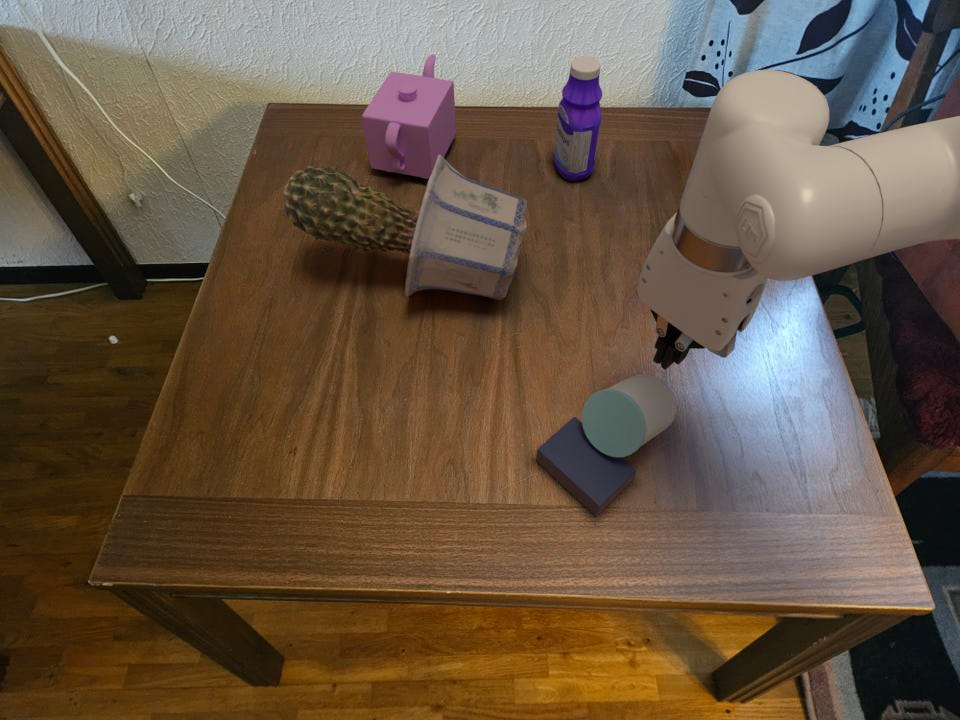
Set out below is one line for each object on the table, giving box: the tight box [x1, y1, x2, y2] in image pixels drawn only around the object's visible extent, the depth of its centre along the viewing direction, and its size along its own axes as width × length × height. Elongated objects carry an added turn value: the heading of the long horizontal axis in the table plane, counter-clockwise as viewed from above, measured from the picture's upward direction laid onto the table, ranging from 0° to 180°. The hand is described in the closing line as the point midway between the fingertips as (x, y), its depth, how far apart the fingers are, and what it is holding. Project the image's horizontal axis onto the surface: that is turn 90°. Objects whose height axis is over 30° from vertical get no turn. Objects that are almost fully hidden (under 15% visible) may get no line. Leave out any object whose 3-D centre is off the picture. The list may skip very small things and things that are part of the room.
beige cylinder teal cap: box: [581, 373, 677, 458], centre depth 69 cm, size 10×7×10 cm
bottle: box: [553, 55, 603, 182], centre depth 93 cm, size 7×6×17 cm
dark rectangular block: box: [535, 416, 638, 518], centre depth 69 cm, size 9×6×3 cm, turn 43°
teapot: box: [361, 54, 457, 180], centre depth 98 cm, size 20×10×12 cm, turn 164°
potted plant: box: [282, 155, 529, 301], centre depth 81 cm, size 18×18×30 cm
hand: (667, 357), depth 67 cm, fingers closed
